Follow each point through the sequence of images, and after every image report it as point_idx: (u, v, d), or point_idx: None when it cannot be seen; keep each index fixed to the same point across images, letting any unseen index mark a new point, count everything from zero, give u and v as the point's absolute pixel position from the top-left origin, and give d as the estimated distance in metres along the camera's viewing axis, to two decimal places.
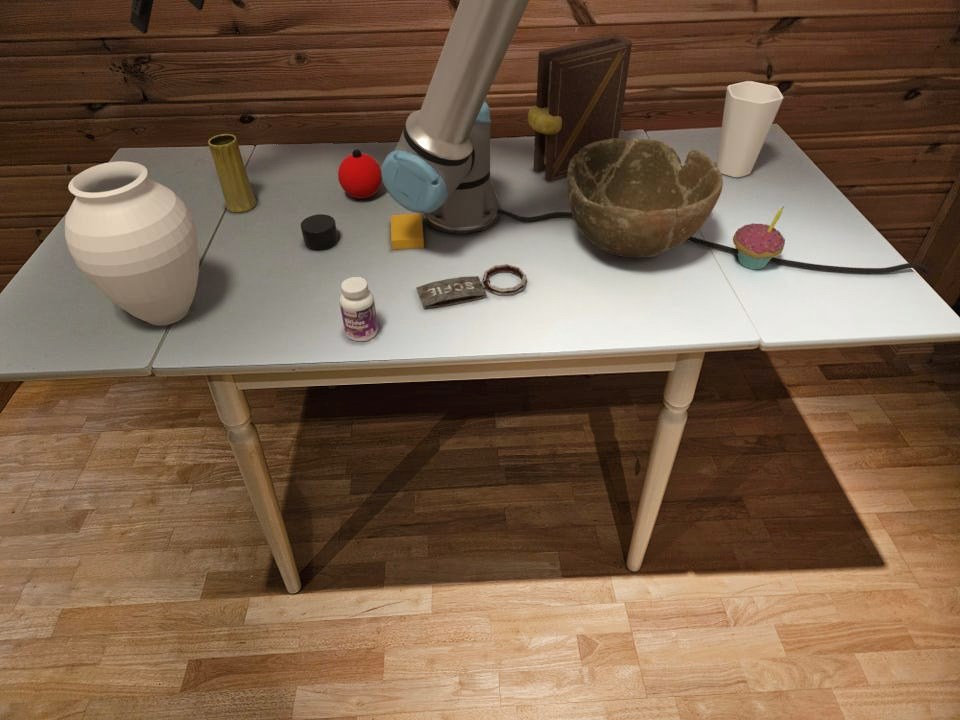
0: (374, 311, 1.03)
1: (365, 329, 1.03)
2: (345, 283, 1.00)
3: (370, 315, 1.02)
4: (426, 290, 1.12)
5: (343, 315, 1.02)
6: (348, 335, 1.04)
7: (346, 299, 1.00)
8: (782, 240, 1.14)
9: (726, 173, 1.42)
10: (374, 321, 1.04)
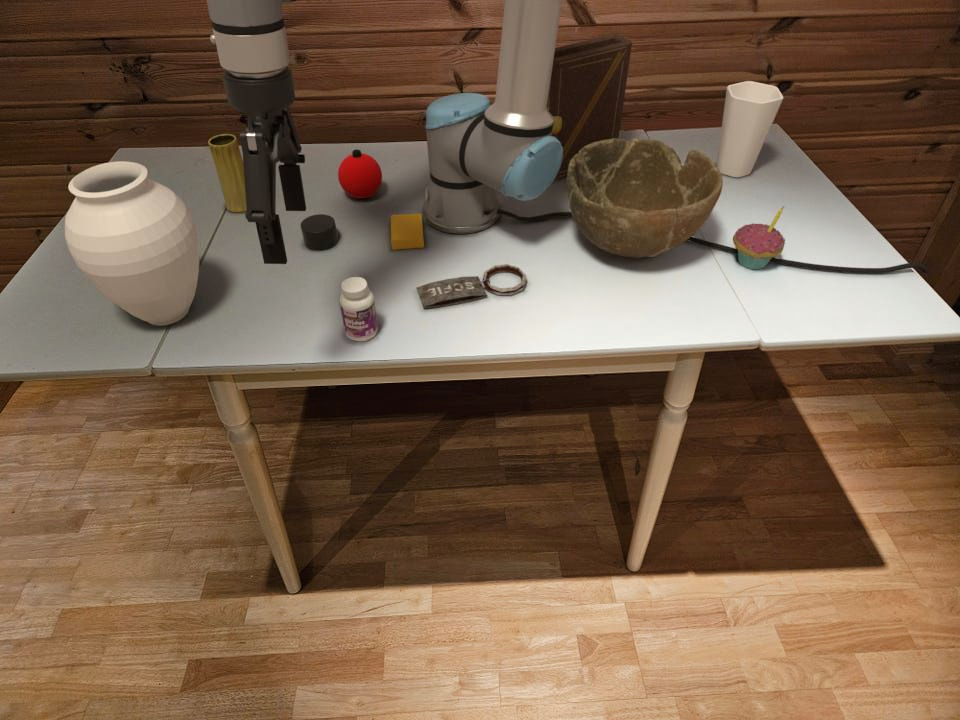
0: (374, 311, 1.03)
1: (365, 329, 1.03)
2: (345, 283, 1.00)
3: (370, 315, 1.02)
4: (426, 290, 1.12)
5: (343, 315, 1.02)
6: (348, 335, 1.04)
7: (346, 299, 1.00)
8: (782, 240, 1.14)
9: (726, 173, 1.42)
10: (374, 321, 1.04)
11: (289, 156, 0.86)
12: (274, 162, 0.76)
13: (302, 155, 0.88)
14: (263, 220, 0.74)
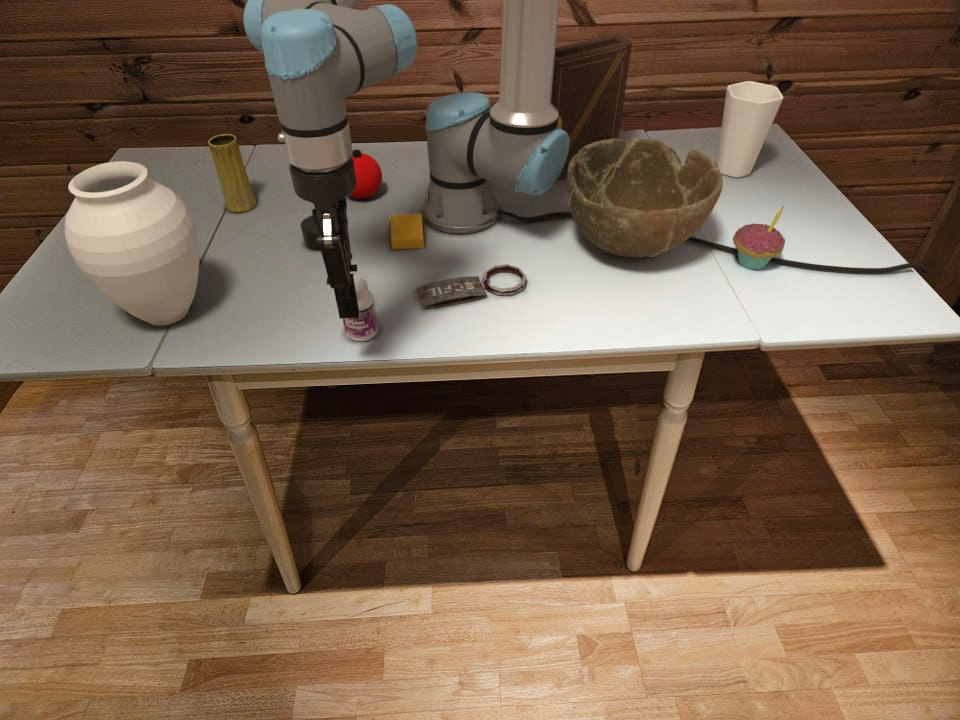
0: (374, 311, 1.03)
1: (365, 329, 1.03)
2: None
3: (370, 315, 1.02)
4: (426, 290, 1.12)
5: None
6: (348, 335, 1.04)
7: None
8: (782, 240, 1.14)
9: (726, 173, 1.42)
10: (374, 321, 1.04)
11: None
12: None
13: (355, 265, 0.90)
14: (344, 286, 0.85)
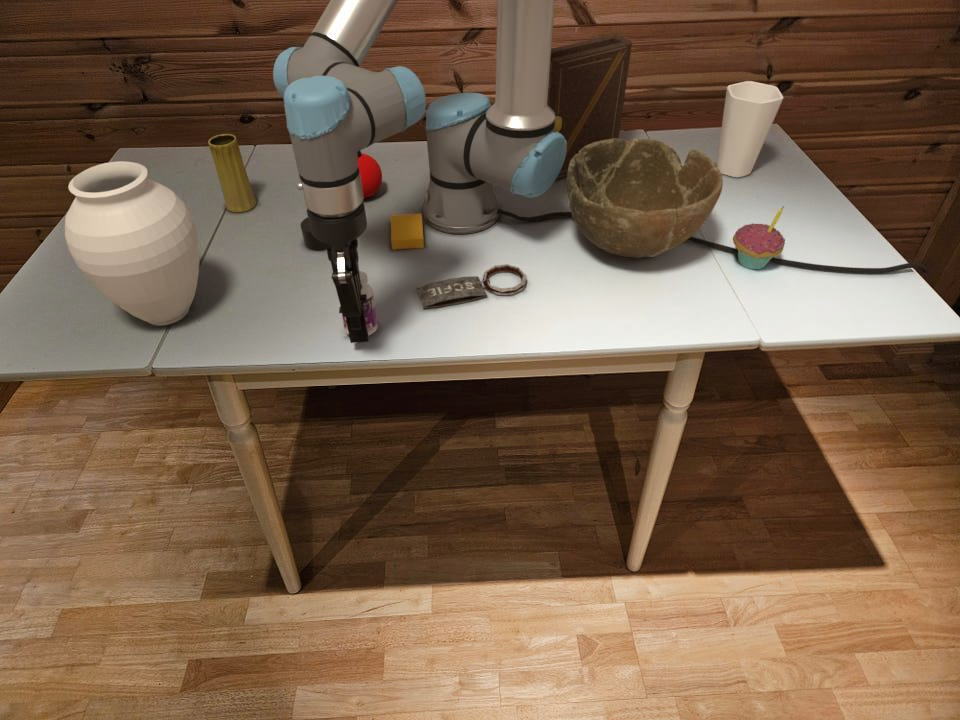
0: (373, 305, 1.03)
1: None
2: None
3: (369, 307, 1.02)
4: (426, 290, 1.12)
5: None
6: (347, 331, 1.04)
7: None
8: (782, 240, 1.14)
9: (726, 173, 1.42)
10: (374, 316, 1.04)
11: None
12: None
13: (364, 295, 0.98)
14: (355, 315, 0.94)
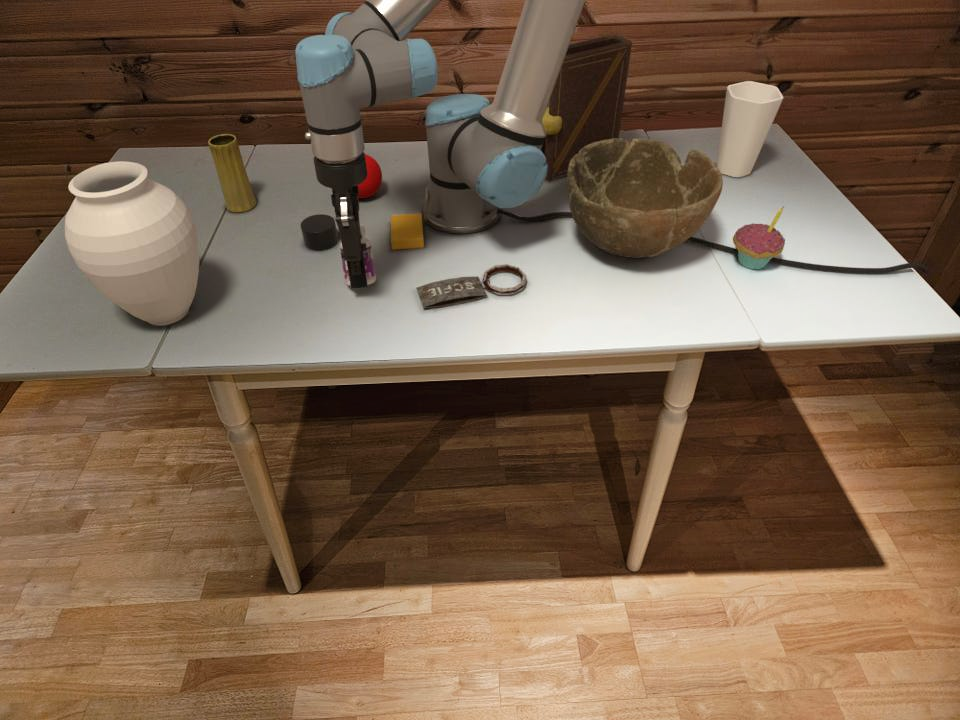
0: (372, 256, 1.12)
1: None
2: None
3: (368, 256, 1.11)
4: (426, 290, 1.12)
5: (343, 258, 1.11)
6: (348, 281, 1.12)
7: None
8: (782, 240, 1.14)
9: (726, 173, 1.42)
10: (372, 266, 1.12)
11: None
12: None
13: (364, 244, 1.08)
14: (356, 258, 1.03)
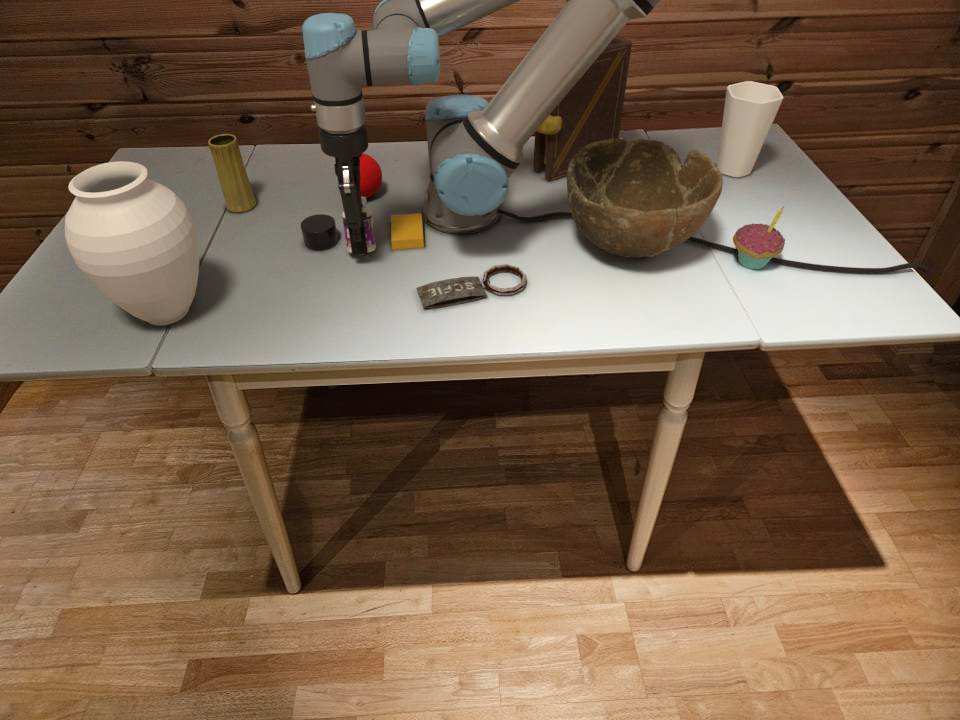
0: (372, 225, 1.19)
1: None
2: None
3: (368, 225, 1.18)
4: (426, 290, 1.12)
5: (345, 227, 1.18)
6: (349, 249, 1.19)
7: None
8: (782, 240, 1.14)
9: (726, 173, 1.42)
10: (372, 234, 1.20)
11: None
12: None
13: (365, 213, 1.15)
14: (357, 225, 1.11)
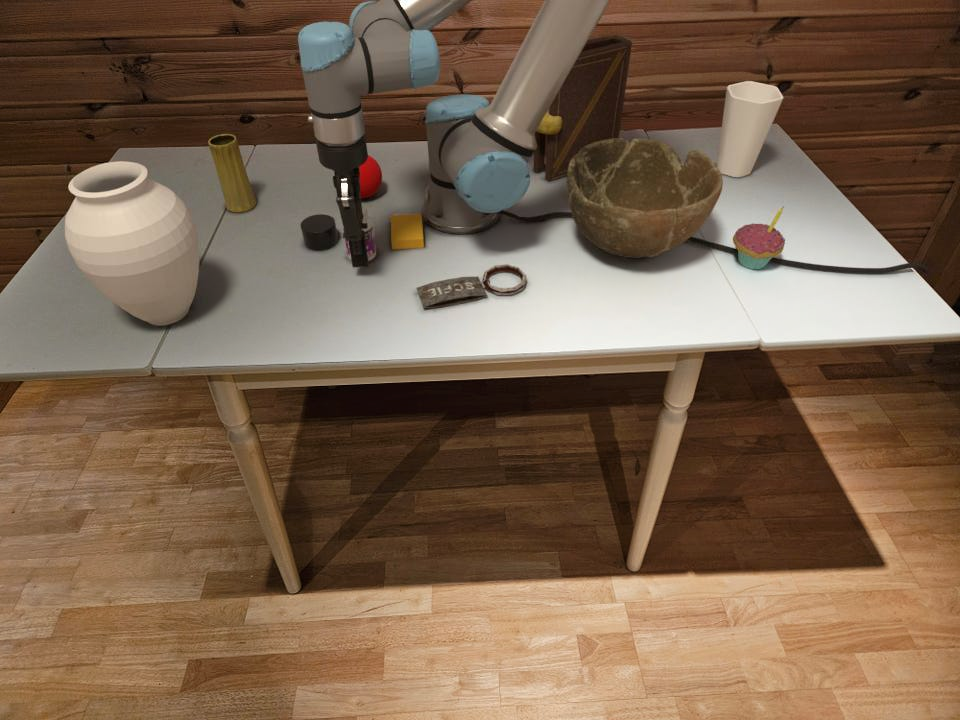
0: (373, 235, 1.18)
1: None
2: None
3: (369, 237, 1.17)
4: (426, 290, 1.12)
5: None
6: (350, 257, 1.20)
7: None
8: (782, 240, 1.14)
9: (726, 173, 1.42)
10: (373, 244, 1.19)
11: None
12: (357, 201, 1.06)
13: (365, 224, 1.12)
14: (357, 238, 1.08)
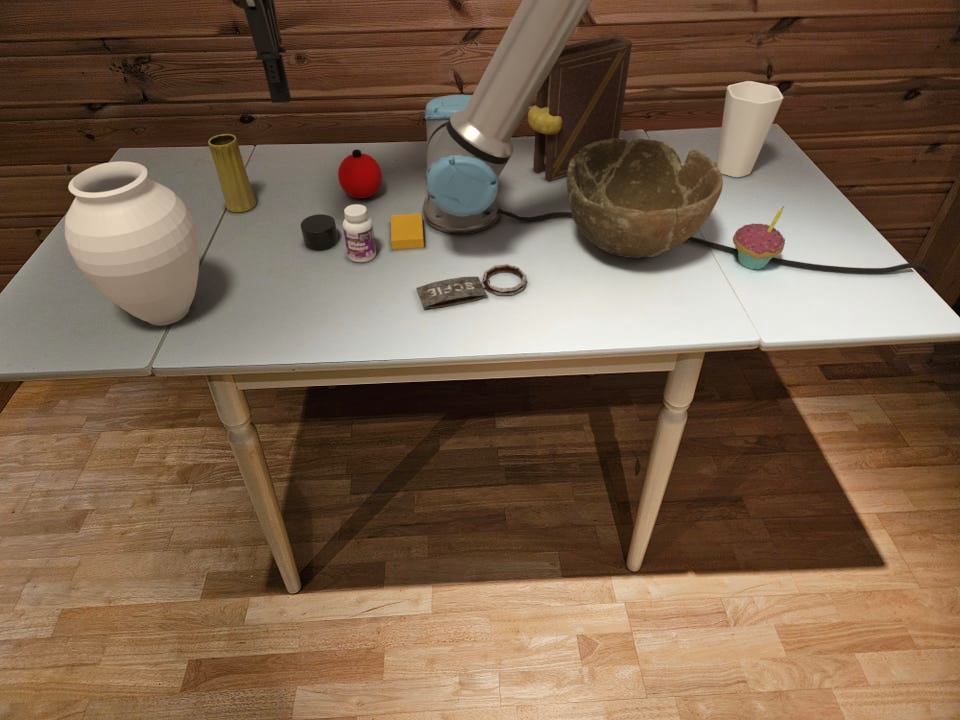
0: (373, 235, 1.18)
1: (365, 250, 1.18)
2: (347, 209, 1.15)
3: (369, 237, 1.17)
4: (426, 290, 1.12)
5: (346, 238, 1.17)
6: (350, 257, 1.20)
7: (349, 223, 1.16)
8: (782, 240, 1.14)
9: (726, 173, 1.42)
10: (373, 244, 1.19)
11: None
12: (268, 9, 0.91)
13: (283, 47, 0.98)
14: (270, 56, 0.93)
